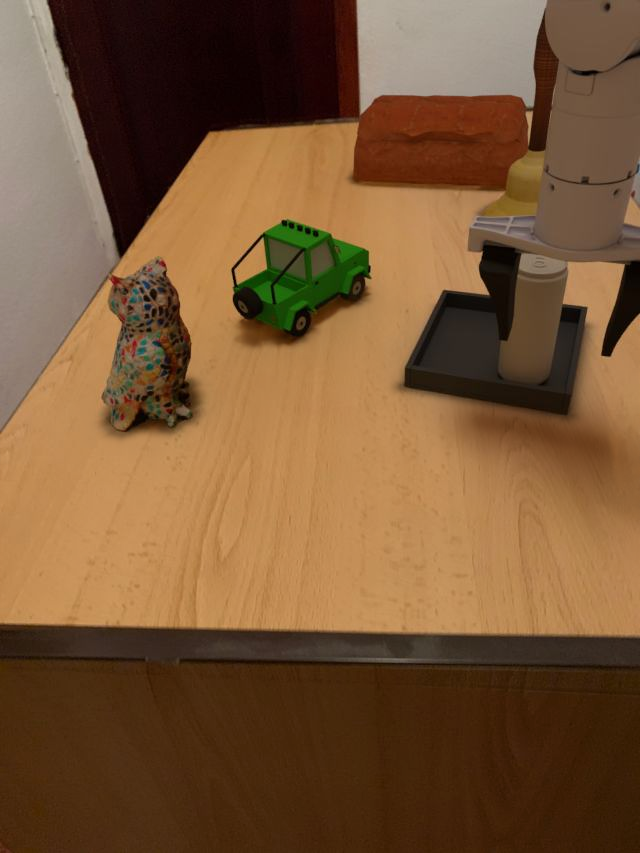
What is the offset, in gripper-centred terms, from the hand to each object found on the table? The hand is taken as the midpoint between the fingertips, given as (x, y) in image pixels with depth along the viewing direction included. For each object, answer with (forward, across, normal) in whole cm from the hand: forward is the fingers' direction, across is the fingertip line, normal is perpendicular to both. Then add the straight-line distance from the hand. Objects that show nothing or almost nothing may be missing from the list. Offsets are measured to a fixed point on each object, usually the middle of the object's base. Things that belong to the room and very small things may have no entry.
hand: (554, 341), depth 52 cm
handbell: (+10, +8, -43) cm, 45 cm away
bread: (+10, +24, -58) cm, 64 cm away
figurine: (+10, +35, +7) cm, 37 cm away
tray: (+10, +5, -10) cm, 15 cm away
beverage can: (+9, +2, -7) cm, 12 cm away
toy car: (+10, +28, -13) cm, 33 cm away
